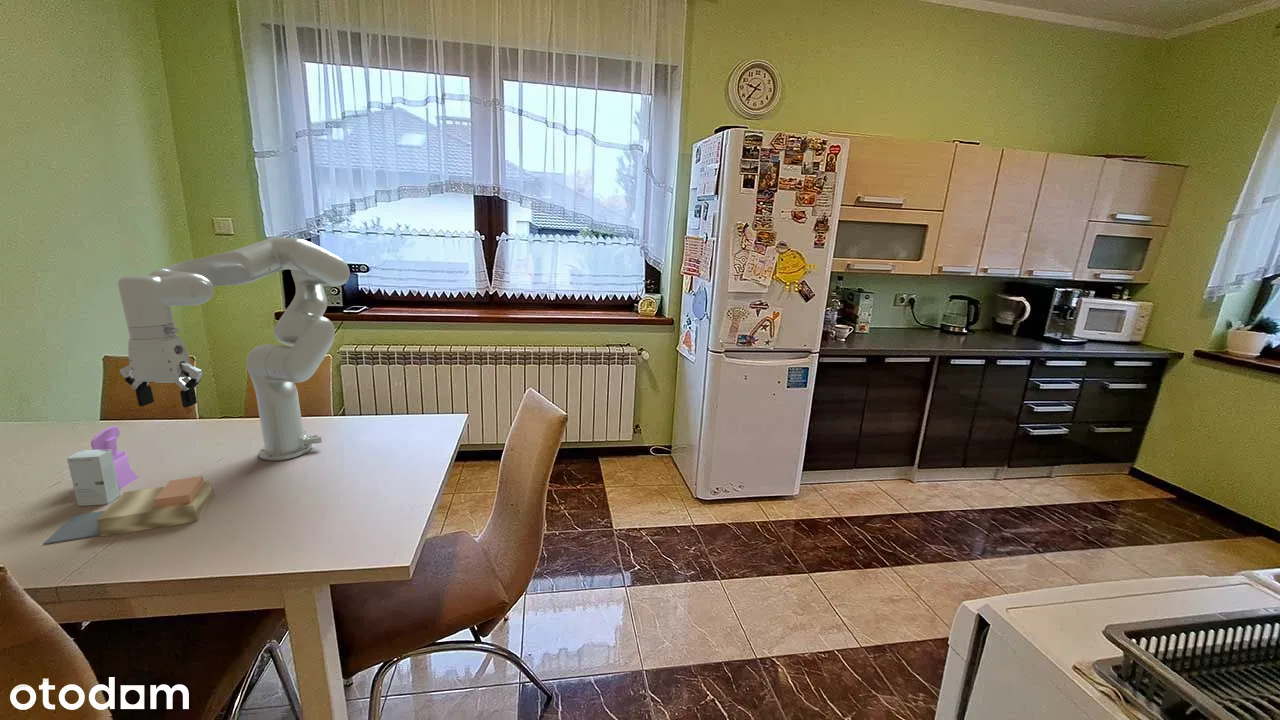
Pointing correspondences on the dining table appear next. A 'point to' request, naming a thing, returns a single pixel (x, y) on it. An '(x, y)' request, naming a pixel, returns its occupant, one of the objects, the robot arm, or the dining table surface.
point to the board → (151, 511)
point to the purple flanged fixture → (115, 454)
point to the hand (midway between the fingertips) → (168, 404)
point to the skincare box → (94, 477)
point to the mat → (77, 528)
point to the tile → (179, 492)
